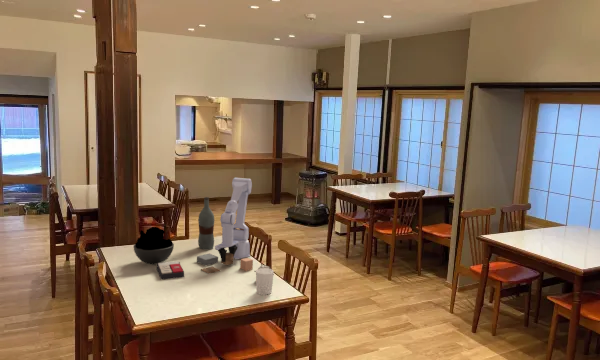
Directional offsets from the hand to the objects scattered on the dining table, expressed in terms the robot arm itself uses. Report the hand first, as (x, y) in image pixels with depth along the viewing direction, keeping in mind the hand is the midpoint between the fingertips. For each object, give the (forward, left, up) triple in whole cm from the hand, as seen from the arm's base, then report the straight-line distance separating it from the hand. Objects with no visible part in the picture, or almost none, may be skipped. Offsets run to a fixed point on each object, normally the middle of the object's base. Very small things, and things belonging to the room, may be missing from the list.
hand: (227, 260), depth 248 cm
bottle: (-9, -34, -3) cm, 35 cm away
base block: (+5, -11, -3) cm, 12 cm away
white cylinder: (+8, +40, -3) cm, 41 cm away
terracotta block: (-5, +10, -3) cm, 12 cm away
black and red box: (+29, -8, -3) cm, 30 cm away
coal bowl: (+28, -26, -3) cm, 38 cm away
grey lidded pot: (-1, +29, -3) cm, 29 cm away
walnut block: (0, 0, -1) cm, 1 cm away
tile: (+11, +1, -3) cm, 11 cm away
